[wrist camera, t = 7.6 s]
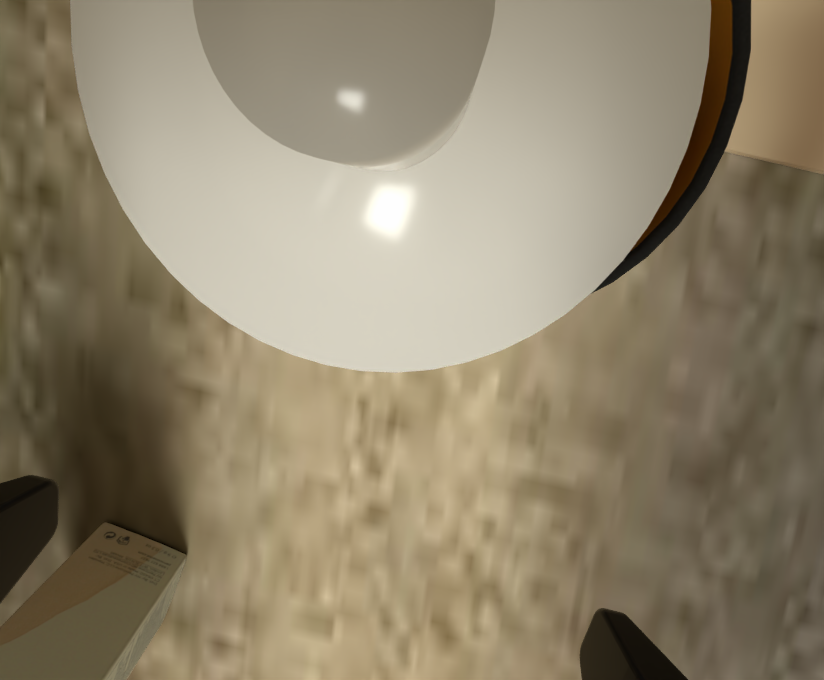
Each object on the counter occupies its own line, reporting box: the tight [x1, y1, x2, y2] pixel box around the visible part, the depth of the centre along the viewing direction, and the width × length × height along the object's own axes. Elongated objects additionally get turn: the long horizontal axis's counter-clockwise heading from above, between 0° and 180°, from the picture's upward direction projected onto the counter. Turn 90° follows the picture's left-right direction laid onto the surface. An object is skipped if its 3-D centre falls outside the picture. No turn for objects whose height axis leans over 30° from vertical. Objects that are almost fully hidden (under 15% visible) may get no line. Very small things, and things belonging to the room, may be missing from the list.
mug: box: [592, 0, 751, 293], centre depth 13 cm, size 8×12×10 cm
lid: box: [70, 0, 711, 373], centre depth 7 cm, size 10×10×4 cm
